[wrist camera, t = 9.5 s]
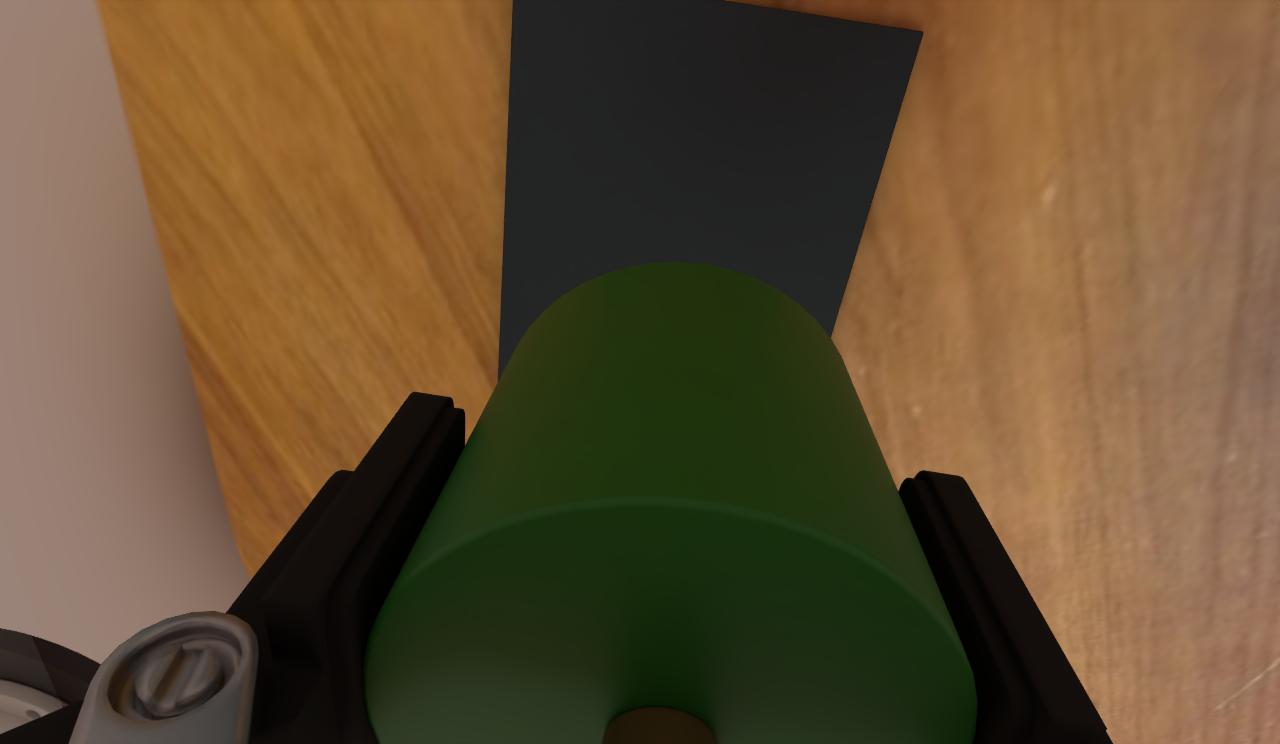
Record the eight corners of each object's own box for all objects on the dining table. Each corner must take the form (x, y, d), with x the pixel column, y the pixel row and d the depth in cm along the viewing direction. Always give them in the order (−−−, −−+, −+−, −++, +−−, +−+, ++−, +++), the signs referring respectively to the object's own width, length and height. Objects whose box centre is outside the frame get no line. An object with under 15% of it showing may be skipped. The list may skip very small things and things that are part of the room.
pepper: (496, 531, 14) (331, 969, 8) (508, 231, 11) (249, 550, 4) (802, 577, 14) (893, 1054, 8) (903, 292, 11) (1194, 695, 5)
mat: (499, 379, 26) (497, 384, 26) (516, -32, 20) (514, -33, 19) (801, 425, 27) (802, 430, 26) (920, 31, 20) (924, 31, 19)
